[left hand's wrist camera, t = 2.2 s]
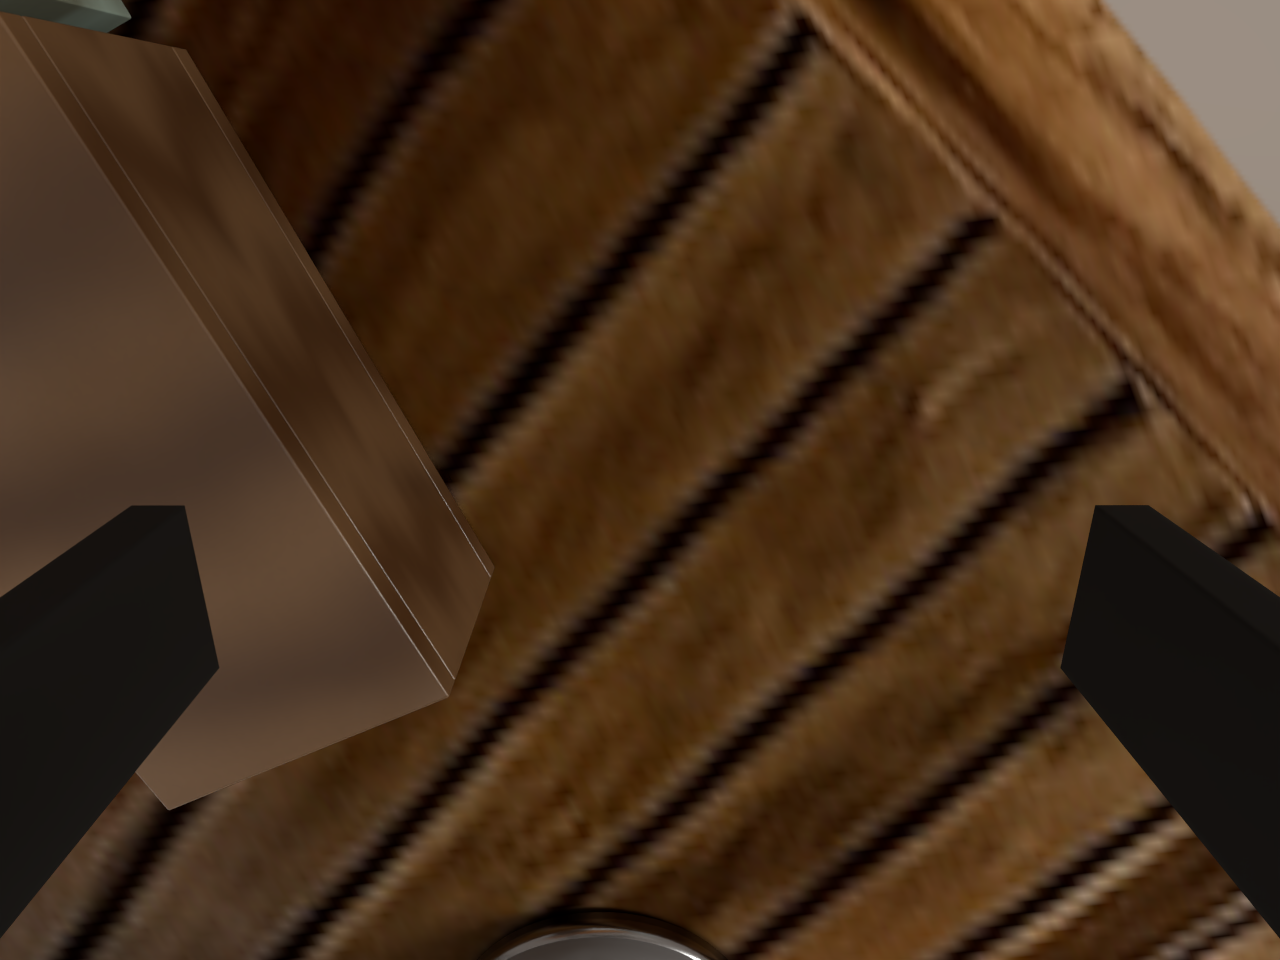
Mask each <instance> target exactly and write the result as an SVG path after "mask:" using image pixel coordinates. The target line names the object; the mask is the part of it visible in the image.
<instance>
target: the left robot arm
mask: <svg viewBox="0 0 1280 960" xmlns="http://www.w3.org/2000/svg"><path fill="white" fill-rule="evenodd" d="M218 669H219V664H218V659H217V654H216V650H215V645H214V640H213V635H212V631H211V626H210V621H209V617H208V612H207V607H206V603H205V598H204V593H203V589H202V584H201V579H200V575H199V570H198V565H197V561H196V556H195V551H194V547H193V542H192V537H191V533H190V528H189V523H188V519H187V514H186V509H185V505H131V506H130V507H128V508H127V509H126V510H124V511H123V512H121V513H120V514H118V515H117V516H116V517H114V518H113V519H111V520H110V521H108V522H107V523H106V524H104V525H103V526H101V527H100V528H98V529H97V530H96V531H94V532H93V533H91V534H90V535H88V536H87V537H86V538H84V539H83V540H81V541H80V542H78V543H77V544H76V545H74V546H73V547H71V548H70V549H68V550H67V551H66V552H64V553H63V554H61V555H60V556H58V557H57V558H56V559H54V560H53V561H51V562H50V563H48V564H47V565H46V566H44V567H43V568H41V569H40V570H38V571H37V572H36V573H34V574H33V575H31V576H30V577H28V578H27V579H26V580H24V581H23V582H21V583H20V584H19V585H17V586H16V587H14V588H13V589H11V590H10V591H9V592H7V593H6V594H4V595H3V596H1V597H0V938H1V937H2V935H3V934H4V933H5V932H6V931H7V929H8V928H9V927H10V926H11V924H12V923H13V922H14V921H15V919H16V918H17V917H18V916H19V915H20V913H21V912H22V911H23V910H24V908H25V907H26V906H27V905H28V903H29V902H30V901H31V900H32V898H33V897H34V896H35V895H36V894H37V892H38V891H39V890H40V889H41V887H42V886H43V885H44V884H45V882H46V881H47V880H48V879H49V878H50V876H51V875H52V874H53V873H54V871H55V870H56V869H57V868H58V866H59V865H60V864H61V863H62V861H63V860H64V859H65V858H66V857H67V855H68V854H69V853H70V852H71V850H72V849H73V848H74V847H75V845H76V844H77V843H78V842H79V841H80V839H81V838H82V837H83V836H84V834H85V833H86V832H87V831H88V829H89V828H90V827H91V826H92V824H93V823H94V822H95V821H96V820H97V818H98V817H99V816H100V815H101V813H102V812H103V811H104V810H105V808H106V807H107V806H108V805H109V804H110V802H111V801H112V800H113V799H114V797H115V796H116V795H117V794H118V792H119V791H120V790H121V789H122V787H123V786H124V785H125V784H126V783H127V781H128V780H129V779H130V778H131V776H132V775H133V774H134V773H135V771H136V770H137V769H138V768H139V767H140V765H141V764H142V763H143V762H144V760H145V759H146V758H147V757H148V755H149V754H150V753H151V752H152V750H153V749H154V748H155V747H156V746H157V744H158V743H159V742H160V741H161V739H162V738H163V737H164V736H165V734H166V733H167V732H168V731H169V730H170V728H171V727H172V726H173V725H174V723H175V722H176V721H177V720H178V718H179V717H180V716H181V715H182V713H183V712H184V711H185V710H186V709H187V707H188V706H189V705H190V704H191V702H192V701H193V700H194V699H195V697H196V696H197V695H198V694H199V693H200V691H201V690H202V689H203V688H204V686H205V685H206V684H207V683H208V681H209V680H210V679H211V678H212V676H213V675H214V674H215V673H216V672H217V670H218ZM1061 669H1062V670H1063V672H1064V673H1065V674H1066V675H1067V676H1068V678H1069V679H1070V680H1071V681H1072V683H1073V684H1074V685H1075V686H1076V688H1077V689H1078V690H1079V691H1080V693H1081V694H1082V695H1083V696H1084V697H1085V699H1086V700H1087V701H1088V702H1089V704H1090V705H1091V706H1092V707H1093V709H1094V710H1095V711H1096V712H1097V713H1098V715H1099V716H1100V717H1101V718H1102V720H1103V721H1104V722H1105V723H1106V725H1107V726H1108V727H1109V728H1110V730H1111V731H1112V732H1113V733H1114V734H1115V736H1116V737H1117V738H1118V739H1119V741H1120V742H1121V743H1122V744H1123V746H1124V747H1125V748H1126V749H1127V750H1128V752H1129V753H1130V754H1131V755H1132V757H1133V758H1134V759H1135V760H1136V762H1137V763H1138V764H1139V765H1140V767H1141V768H1142V769H1143V770H1144V771H1145V773H1146V774H1147V775H1148V776H1149V778H1150V779H1151V780H1152V781H1153V783H1154V784H1155V785H1156V786H1157V787H1158V789H1159V790H1160V791H1161V792H1162V794H1163V795H1164V796H1165V797H1166V799H1167V800H1168V801H1169V802H1170V804H1171V805H1172V806H1173V807H1174V808H1175V810H1176V811H1177V812H1178V813H1179V815H1180V816H1181V817H1182V818H1183V820H1184V821H1185V822H1186V823H1187V824H1188V826H1189V827H1190V828H1191V829H1192V831H1193V832H1194V833H1195V834H1196V836H1197V837H1198V838H1199V839H1200V841H1201V842H1202V843H1203V844H1204V845H1205V847H1206V848H1207V849H1208V850H1209V852H1210V853H1211V854H1212V855H1213V857H1214V858H1215V859H1216V860H1217V861H1218V863H1219V864H1220V865H1221V866H1222V868H1223V869H1224V870H1225V871H1226V873H1227V874H1228V875H1229V876H1230V878H1231V879H1232V880H1233V881H1234V882H1235V884H1236V885H1237V886H1238V887H1239V889H1240V890H1241V891H1242V892H1243V894H1244V895H1245V896H1246V897H1247V898H1248V900H1249V901H1250V902H1251V903H1252V905H1253V906H1254V907H1255V908H1256V910H1257V911H1258V912H1259V913H1260V915H1261V916H1262V917H1263V918H1264V919H1265V921H1266V922H1267V923H1268V924H1269V926H1270V927H1271V928H1272V929H1273V931H1274V932H1275V933H1276V934H1277V935H1278V937H1279V938H1280V597H1279V596H1277V595H1276V594H1274V593H1273V592H1271V591H1270V590H1269V589H1267V588H1266V587H1264V586H1263V585H1261V584H1260V583H1259V582H1257V581H1256V580H1254V579H1253V578H1251V577H1250V576H1249V575H1247V574H1246V573H1244V572H1243V571H1242V570H1240V569H1239V568H1237V567H1236V566H1234V565H1233V564H1232V563H1230V562H1229V561H1227V560H1226V559H1224V558H1223V557H1222V556H1220V555H1219V554H1217V553H1216V552H1214V551H1213V550H1212V549H1210V548H1209V547H1207V546H1206V545H1204V544H1203V543H1202V542H1200V541H1199V540H1197V539H1196V538H1194V537H1193V536H1192V535H1190V534H1189V533H1187V532H1186V531H1184V530H1183V529H1182V528H1180V527H1179V526H1177V525H1176V524H1174V523H1173V522H1172V521H1170V520H1169V519H1167V518H1166V517H1164V516H1163V515H1162V514H1160V513H1159V512H1157V511H1156V510H1154V509H1153V508H1152V507H1150V506H1149V505H1095V509H1094V514H1093V519H1092V523H1091V528H1090V533H1089V537H1088V542H1087V547H1086V551H1085V556H1084V561H1083V565H1082V570H1081V575H1080V579H1079V584H1078V589H1077V593H1076V598H1075V603H1074V607H1073V612H1072V617H1071V621H1070V626H1069V631H1068V635H1067V640H1066V645H1065V649H1064V654H1063V659H1062V664H1061ZM478 960H728V959H727V958H726V957H725V956H723V955H722V954H721V953H720V952H719V951H718V950H717V949H716V948H714V947H713V946H712V945H710V944H709V943H708V942H706V941H704V940H703V939H701V938H700V937H698V936H696V935H694V934H692V933H690V932H688V931H686V930H685V929H682V928H680V927H677V926H675V925H672V924H670V923H667V922H663V921H660V920H657V919H653V918H649V917H644V916H640V915H633V914H627V913H615V912H588V913H577V914H569V915H563V916H558V917H554V918H549V919H546V920H543V921H539V922H536V923H533V924H531V925H528V926H526V927H523V928H521V929H519V930H517V931H515V932H513V933H511V934H509V935H508V936H506V937H504V938H503V939H501V940H499V941H498V942H497V943H495V944H494V945H493V946H491V947H490V948H489V949H488V950H487V951H486V952H485V953H483V954H482V955H481V956H480V957H479V958H478Z"/></svg>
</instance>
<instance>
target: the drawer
mask: <svg viewBox="0 0 1280 960" xmlns="http://www.w3.org/2000/svg"><path fill="white" fill-rule="evenodd" d="M0 11H1V12H6V13H11V14H16V15H20V16H27V17H32V18H37V19H42V20H46V21H51V22H56V23H61V24H66V25H71V26H75V27H80V28H85V29H90V30H95V31H100V32H104V33H107V32H109V31H111V30H112V29H114V28H116V27H117V26H119V25H121V24H123V23H124V22H126V21H128V20H129V19H131V16H130V14H129V12H128V11H127V9H126V7H125V6H124V4H123V3H122V1H121V0H0Z"/></svg>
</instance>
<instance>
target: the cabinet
mask: <svg viewBox="0 0 1280 960" xmlns="http://www.w3.org/2000/svg"><path fill="white" fill-rule="evenodd" d="M131 505H185V509H186V514H187V519H188V523H189V528H190V533H191V537H192V542H193V547H194V551H195V556H196V561H197V565H198V570H199V575H200V579H201V584H202V589H203V593H204V598H205V603H206V607H207V612H208V617H209V621H210V626H211V631H212V635H213V640H214V645H215V650H216V654H217V659H218V664H219V669H218V670H217V672H216V673H215V674H214V675H213V676H212V678H211V679H210V680H209V681H208V683H207V684H206V685H205V686H204V688H203V689H202V690H201V691H200V693H199V694H198V695H197V696H196V697H195V699H194V700H193V701H192V702H191V704H190V705H189V706H188V707H187V709H186V710H185V711H184V712H183V713H182V715H181V716H180V717H179V718H178V720H177V721H176V722H175V723H174V725H173V726H172V727H171V728H170V730H169V731H168V732H167V733H166V734H165V736H164V737H163V738H162V739H161V741H160V742H159V743H158V744H157V746H156V747H155V748H154V749H153V750H152V752H151V753H150V754H149V755H148V757H147V758H146V759H145V760H144V762H143V763H142V764H141V765H140V767H139V768H138V769H137V770H136V771H135V772H136V773H137V774H138V776H139V777H140V778H141V779H142V780H143V781H144V783H145V784H146V785H147V786H148V787H149V788H150V789H151V791H152V792H153V793H154V794H155V795H156V796H157V798H158V799H159V800H160V801H161V802H162V803H163V805H164V806H165V807H166V808H167V809H168V810H171V809H173V808H176V807H178V806H181V805H183V804H186V803H188V802H191V801H193V800H196V799H198V798H201V797H203V796H206V795H208V794H211V793H213V792H215V791H218V790H220V789H223V788H225V787H228V786H230V785H233V784H235V783H238V782H240V781H243V780H245V779H248V778H250V777H253V776H255V775H258V774H260V773H262V772H265V771H267V770H270V769H272V768H275V767H277V766H280V765H282V764H285V763H287V762H290V761H292V760H295V759H297V758H300V757H302V756H305V755H307V754H309V753H312V752H314V751H317V750H319V749H322V748H324V747H327V746H329V745H332V744H334V743H337V742H339V741H342V740H344V739H347V738H349V737H351V736H354V735H356V734H359V733H361V732H364V731H366V730H369V729H371V728H374V727H376V726H379V725H381V724H384V723H386V722H389V721H391V720H394V719H396V718H398V717H401V716H403V715H406V714H408V713H411V712H413V711H416V710H418V709H421V708H423V707H426V706H428V705H431V704H433V703H436V702H438V701H441V700H443V699H445V698H448V697H449V695H450V693H451V690H452V687H453V684H454V680H455V679H456V676H457V673H458V670H459V668H460V665H461V662H462V659H463V656H464V653H465V650H466V648H467V645H468V642H469V639H470V636H471V633H472V631H473V628H474V625H475V622H476V619H477V616H478V613H479V611H480V608H481V605H482V602H483V599H484V596H485V593H486V591H487V588H488V585H489V582H490V579H491V576H492V574H493V571H494V565H493V564H492V562H491V560H490V559H489V557H488V555H487V554H486V552H485V550H484V549H483V547H482V545H481V543H480V542H479V540H478V538H477V537H476V535H475V533H474V532H473V530H472V528H471V527H470V525H469V523H468V522H467V520H466V518H465V517H464V515H463V513H462V512H461V510H460V508H459V507H458V505H457V503H456V502H455V500H454V498H453V497H452V495H451V493H450V491H449V490H448V488H447V486H446V485H445V483H444V481H443V480H442V478H441V476H440V475H439V473H438V471H437V470H436V468H435V466H434V465H433V463H432V461H431V460H430V458H429V456H428V455H427V453H426V451H425V450H424V448H423V446H422V445H421V443H420V441H419V439H418V438H417V436H416V434H415V433H414V431H413V429H412V428H411V426H410V424H409V423H408V421H407V419H406V418H405V416H404V414H403V413H402V411H401V409H400V408H399V406H398V404H397V403H396V401H395V399H394V398H393V396H392V394H391V393H390V391H389V389H388V388H387V386H386V384H385V382H384V381H383V379H382V377H381V376H380V374H379V372H378V371H377V369H376V367H375V366H374V364H373V362H372V361H371V359H370V357H369V356H368V354H367V352H366V351H365V349H364V347H363V346H362V344H361V342H360V341H359V339H358V337H357V336H356V334H355V332H354V330H353V329H352V327H351V325H350V324H349V322H348V320H347V319H346V317H345V315H344V314H343V312H342V310H341V309H340V307H339V305H338V304H337V302H336V300H335V299H334V297H333V295H332V294H331V292H330V290H329V289H328V287H327V285H326V284H325V282H324V280H323V278H322V277H321V275H320V273H319V272H318V270H317V268H316V267H315V265H314V263H313V262H312V260H311V258H310V257H309V255H308V253H307V252H306V250H305V248H304V247H303V245H302V243H301V242H300V240H299V238H298V237H297V235H296V233H295V232H294V230H293V228H292V226H291V225H290V223H289V221H288V220H287V218H286V216H285V215H284V213H283V211H282V210H281V208H280V206H279V205H278V203H277V201H276V200H275V198H274V196H273V195H272V193H271V191H270V190H269V188H268V186H267V185H266V183H265V181H264V180H263V178H262V176H261V175H260V173H259V171H258V169H257V168H256V166H255V164H254V163H253V161H252V159H251V158H250V156H249V154H248V153H247V151H246V149H245V148H244V146H243V144H242V143H241V141H240V139H239V138H238V136H237V134H236V133H235V131H234V129H233V128H232V126H231V124H230V123H229V121H228V119H227V117H226V116H225V114H224V112H223V111H222V109H221V107H220V106H219V104H218V102H217V101H216V99H215V97H214V96H213V94H212V92H211V91H210V89H209V87H208V86H207V84H206V82H205V81H204V79H203V77H202V76H201V74H200V72H199V71H198V69H197V67H196V65H195V64H194V62H193V60H192V59H191V57H190V55H189V54H188V52H187V50H185V49H182V48H177V47H171V46H167V45H162V44H157V43H153V42H148V41H143V40H138V39H133V38H128V37H124V36H119V35H114V34H109V33H104V32H100V31H95V30H90V29H85V28H80V27H75V26H71V25H66V24H61V23H56V22H51V21H46V20H42V19H37V18H32V17H27V16H20V15H16V14H11V13H6V12H1V11H0V597H1V596H3V595H4V594H6V593H7V592H9V591H10V590H11V589H13V588H14V587H16V586H17V585H19V584H20V583H21V582H23V581H24V580H26V579H27V578H28V577H30V576H31V575H33V574H34V573H36V572H37V571H38V570H40V569H41V568H43V567H44V566H46V565H47V564H48V563H50V562H51V561H53V560H54V559H56V558H57V557H58V556H60V555H61V554H63V553H64V552H66V551H67V550H68V549H70V548H71V547H73V546H74V545H76V544H77V543H78V542H80V541H81V540H83V539H84V538H86V537H87V536H88V535H90V534H91V533H93V532H94V531H96V530H97V529H98V528H100V527H101V526H103V525H104V524H106V523H107V522H108V521H110V520H111V519H113V518H114V517H116V516H117V515H118V514H120V513H121V512H123V511H124V510H126V509H127V508H128V507H130V506H131Z"/></svg>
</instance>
